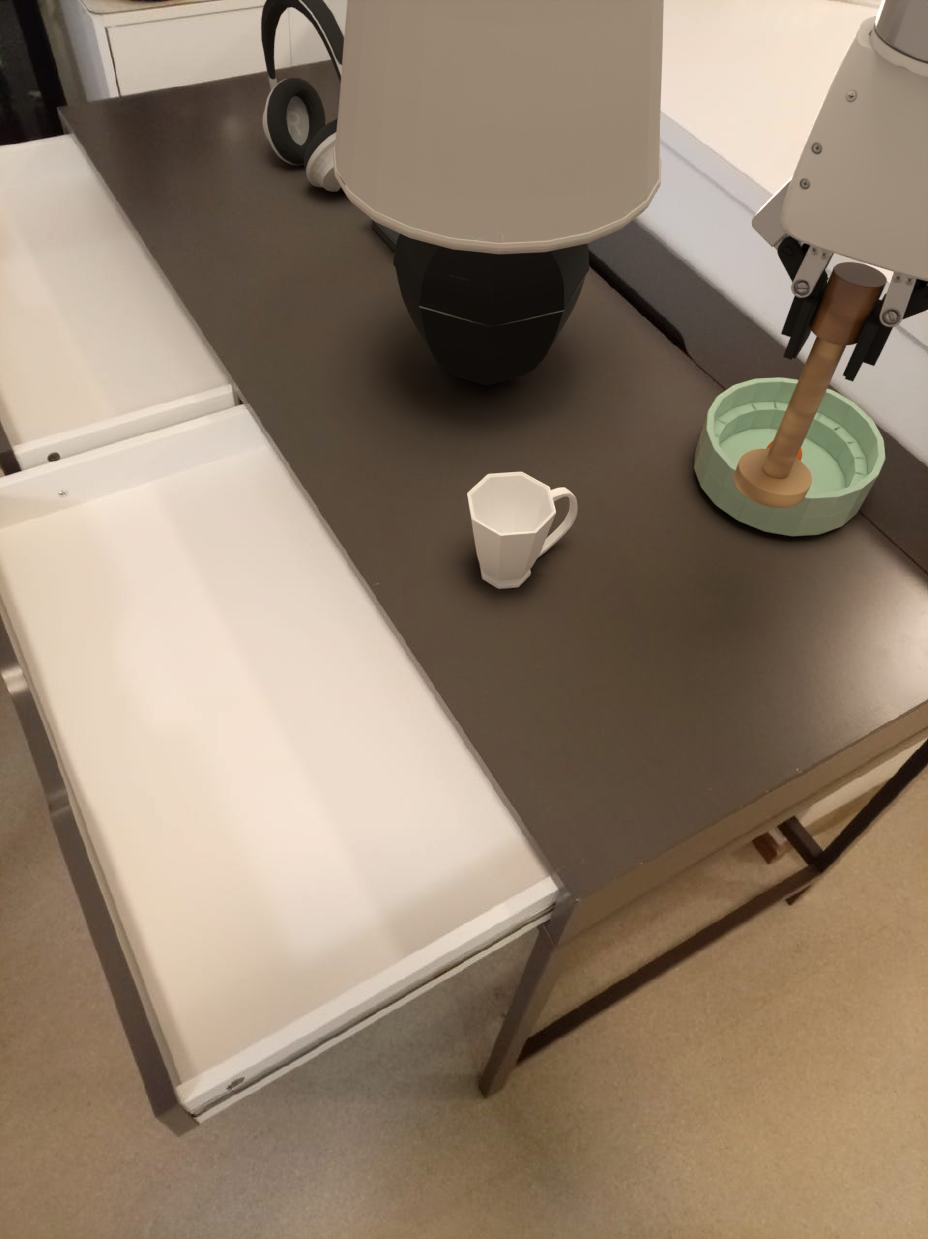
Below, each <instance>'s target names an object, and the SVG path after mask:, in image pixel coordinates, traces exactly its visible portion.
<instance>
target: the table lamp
mask: <svg viewBox="0 0 928 1239" xmlns="http://www.w3.org/2000/svg"><path fill="white" fill-rule="evenodd" d="M346 1H347V3H346V11H345V12H346V13H345V24H344V33H343V34H344V47H343V60H342V73H341V84H340V89H339V100H338V101H339V102H338V113H337V119H338V122H337V131H336V141H335V146H334V148H333V161H334V174H335V177H336V179H337V181H338V182H339V184H340V186H341V187H340V188H341V189H342V191H343V192H344V194H345V196H346V197H347V199H348V200H349V201H350V203H352V204H353V205H354V206H355V207H357V208H358V209H359V210H360V211H361V212H362V213H364V214H365V215H366V216H368V217H369V218H370V219H371V220H372V219H373V220H374V221H375V222H377V223H379V224H381V225H383V226H386V227H388V228H390V229H392V230H394V231H396V232H398V233H400V235H399V237H398V240H397V243H396V248H395V251H394V256H393V262H392V263H393V266H394V268H395V273H396V277H397V282H398V287H399V290H400V294H401V298H402V300H403V304H404V306H405V308H406V311H407V313H408V315H409V317H410V319H411V320H412V322H413V325H414V326H415V328H416V329H417V331H418V333H419V335H420V336H421V339H422V340H423V341H424V343H425V345H426V347H427V348H428V350H429V352H430V353H431V355H432V357H433V358H434V360H435V361H436V363H437V364H438V365H439V367H441V368H442V369H443V370H444V371H445V372H447V373H449V375H452V376H455V377H457V378H460V379H463V380H466V381H470V382H473V383H476V384H480V385H483V386H489V385H494V384H499V383H503V382H507V381H511V380H515V379H518V378H520V377H523V376H526V375H527V374H529V373H531V372H532V371H534V370H535V369H537V367H539V366H540V364H542V362H543V361H544V359H545V358H546V357H547V354H548V353H549V351H550V350H551V349H552V346H553V345H554V343H555V341H556V340H557V338H558V336H559V335H560V333H561V332H562V329H563V328H564V326H565V324H566V323H567V321H568V319H569V318H570V316H571V315H572V313H573V311H574V309H575V306H576V304H577V303H578V301H579V297H580V295H581V292H582V289H583V286H584V283H585V280H586V278H587V274H588V272H589V271H590V253H589V252H590V251H589V246H588V244H589V243H591V242H594V241H596V240H599V239H601V238H604V237H606V236H609V235H610V234H613V233H616V232H618V231H620V230H622V229H624V227H626V226H628V225H629V224H630V223H631V222H633V221H634V220H635V219H636V218H638V216H640V215H641V214H643V213H644V212H645V211H646V209H648V208H649V206H650V204H651V203H652V201H653V199H654V198H655V195H656V194H657V192H658V190H659V189H660V187H661V185H662V184H661V183H662V157H661V156H660V155H661V107H662V106H661V105H662V104H661V103H662V102H661V100H662V78H663V77H662V75H663V50H664V49H663V48H664V46H663V45H664V44H663V43H664V6H665V4H664V2H665V1H664V0H346Z"/></svg>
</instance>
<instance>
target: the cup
mask: <svg viewBox="0 0 928 1239" xmlns="http://www.w3.org/2000/svg"><path fill="white" fill-rule="evenodd" d="M466 496H467V501H468V509H469V513H470V521H471V527H472V535H473V540H474V547H475V552H476V556H477V560H478V563H479V568H480V574H481V579H482V580H483V581H485V582H487V583H488V584H490V585H491V586H493V587H495V588H496V589H498V590H502V589H512V588H515V589H516V588H519V587H520V586H521V585H522V584H524V582H525V581H526V580H527V579H528V578H529V577H530V576H531V573H532V572H531V569H532V568H533V566H534V565H535V563H536V561H537V560H538V559H539V557H541V556H542V555H544V554H545V553H546V552H548V550H550V549H551V548H552V547H553V546H554V545H555V544H556V543H557V542H558V541H559V540H561V538H563V537H564V536H565V535H566V533H567V532H568V531H569V530H570V529H571V527H572V526H573V524H574V523H575V521H576V518H577V516H578V510H579V509H578V508H579V505H578V500H577V497H576V495H574V494H573V492H572V491H571V490H569V489H568V488H566V487H563V486H562V487H556V488H552V489H551V487H550V486H549V485H547V484H545V483H544V482H541V481H540V480H537V479H536V478H534V477H532V476H530V475H529V474H527V473H525V472H523V471H511V472H510V471H509V472H496V473H495V472H494V473H488V474H486V475H485V476H484V477H483V478H482V479H481V480H480V481H479V482H477V483H476V484H475V485H474V486H473V487H472V488H470V490H469V491H468V492H467V493H466ZM561 498H568V501H569V504H568V505H569V506H568V512H567V514H566V515H565V518H564V520H563V521H562V522H561V523H560V524H559V525H558V526H557V528H556V529H555V530H553V531H552V533H550V535H548V534H549V532H550V530H551V527H552V524H553V522H554V520H555V517H556V514H557V510H556V507H555V502H556V501H557V500H560V499H561Z"/></svg>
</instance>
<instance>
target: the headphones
mask: <svg viewBox="0 0 928 1239" xmlns="http://www.w3.org/2000/svg"><path fill="white" fill-rule="evenodd" d="M289 8H292V9H294V10H296V11H297V12H299V13H301V14H302V15H303V16H304V17H305V18H306V19H307V20H308V21H309V22H310V24H312V26H313V27H314V29H315V30H316V32H317V34H318V36H319V38H320V39H321V41H322V43H323V45H324V47H325V49H326V51H327V53H328V56H329V58H330V60H331V62H332V65H333V67H334V70H335V72H336V75H337V78H338V81H339V84H340V85H341V73H342V60H343V47H344V34H345V33H344V31H343V29H342V27H341V25H340V23H339V20H338V19H337V17H336V14H335V13H334V12H333V10H332V8H331V7H330V5H329V4H328V3H327V1H326V0H265V1H264V4H263V6H262V11H261V18H260V39H261V40H260V41H261V46H262V52H263V58H264V62H265V67H266V68H265V69H266V74H267V77H268V83H269V88H270V92H269V93H268V95H267V98H266V102H265V106H264V111H263V114H262V129H263V132H264V133H263V134H264V135H265V137H266V139H267V141H268V143H269V145H270V147H271V148H272V150H273V152H274V153H275V154H276V155H277V156H278V158H280V159H281V160H282V161H283V162H285V163H287V164H290V165H292V166H303V165H304V171H305V174H306V178H307V180H308V181H309V183H310V184H311V185H312V186H314V187H317V188H323V189H324V190H326V191H328V192H331V193H333V192H334V193H336V192H339V191H340V189H341V188H342V187H341V186H340V184H339V182H338V181H337V179H336V177H335V174H334V161H333V148H334V146H335V141H336V131H337V122H338V118H335V119H333V120H331V121H330V122H328V123H326V114H325V108H324V105H323V101H322V99H321V97H320V94H319V92H318V90H317V89H316V88H315V87H314V86H313V85H312V84H311V83H310V82H309V81H307V80H306V79H303V78H300V77H299V78H298V77H289V78H284V79H282V80H281V81H279V82H278V80H277V75H276V65H275V64H276V63H275V43H276V42H275V41H276V33H277V29H278V25H279V22H280V19H281V17H282V15H283V14H284V13H285V11H286V10H288V9H289Z"/></svg>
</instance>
